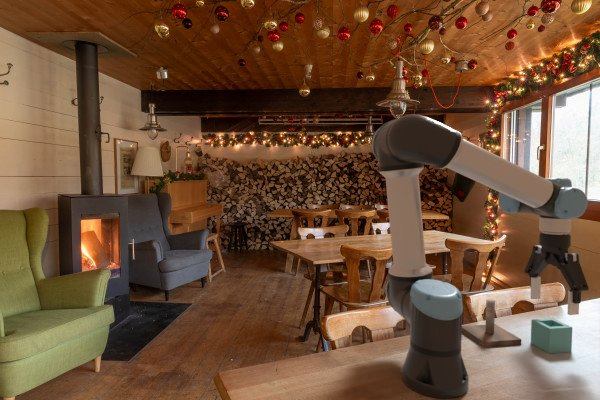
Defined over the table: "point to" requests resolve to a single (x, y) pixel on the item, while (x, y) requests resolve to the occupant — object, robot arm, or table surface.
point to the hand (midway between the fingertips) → (553, 306)
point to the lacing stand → (490, 331)
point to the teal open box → (551, 335)
